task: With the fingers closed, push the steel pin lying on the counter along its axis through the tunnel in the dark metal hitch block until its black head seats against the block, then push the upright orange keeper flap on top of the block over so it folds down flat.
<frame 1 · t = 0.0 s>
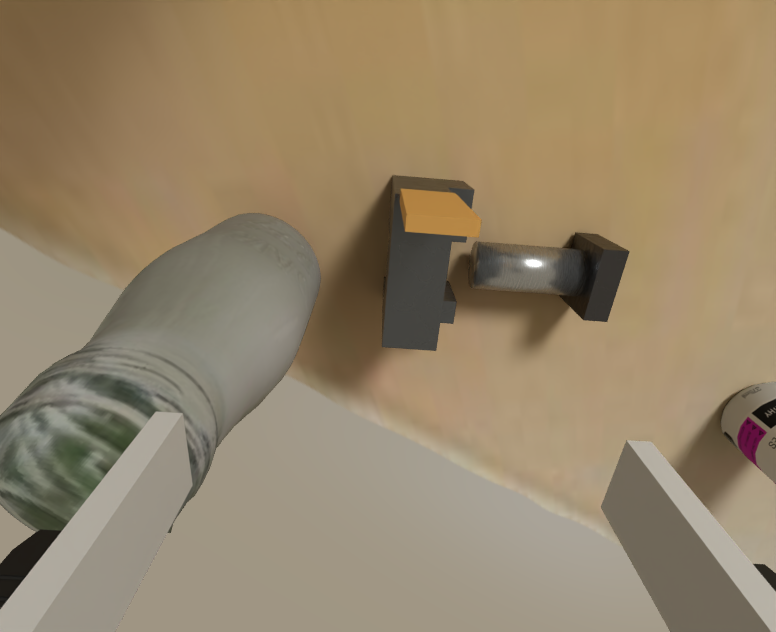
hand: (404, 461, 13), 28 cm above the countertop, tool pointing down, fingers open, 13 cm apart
hitch block: (420, 242, 39), on the countertop
grey vase: (271, 258, 40), on the countertop
supplement can: (754, 409, 47), on the countertop
lynch pin: (538, 271, 37), point 3 cm above the countertop, slide at 0.0 cm
keeper flap: (433, 209, 23), point 15 cm above the countertop, hinge at 90.0°
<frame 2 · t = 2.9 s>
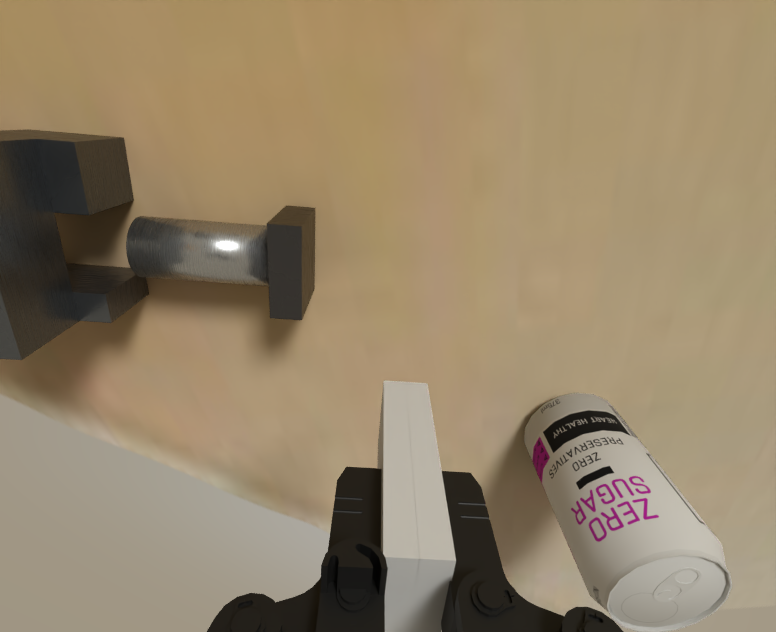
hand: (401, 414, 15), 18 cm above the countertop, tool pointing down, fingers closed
hitch block: (93, 218, 30), on the countertop
supplement can: (567, 425, 39), on the countertop
lynch pin: (224, 255, 29), point 3 cm above the countertop, slide at 0.0 cm
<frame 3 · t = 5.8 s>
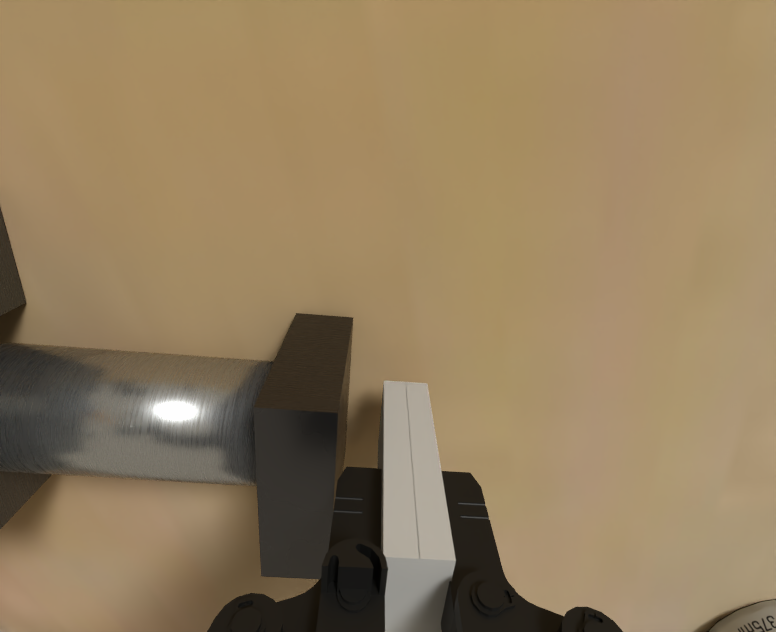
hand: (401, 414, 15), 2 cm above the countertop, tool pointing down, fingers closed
lynch pin: (169, 425, 14), point 3 cm above the countertop, slide at 1.0 cm, touching gripper
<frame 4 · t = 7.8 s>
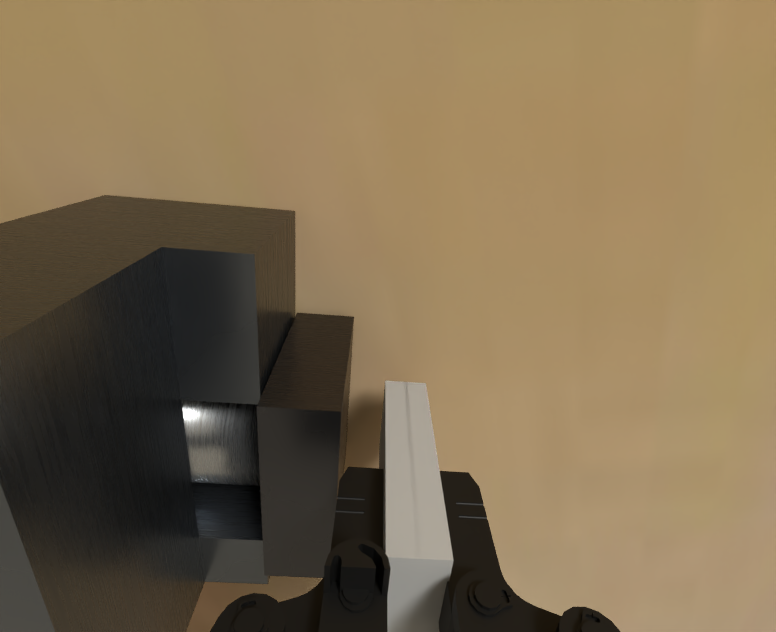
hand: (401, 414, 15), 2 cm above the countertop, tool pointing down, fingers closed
hitch block: (214, 353, 16), on the countertop
lynch pin: (171, 425, 14), point 3 cm above the countertop, slide at 10.4 cm, touching gripper
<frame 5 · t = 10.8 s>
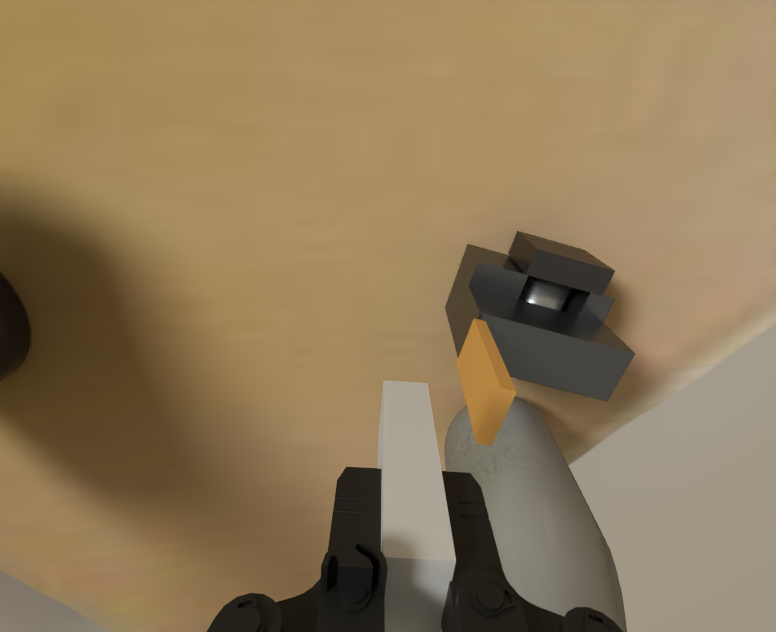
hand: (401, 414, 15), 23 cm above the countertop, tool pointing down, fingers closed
hitch block: (515, 292, 38), on the countertop
grey vase: (488, 417, 44), on the countertop
lynch pin: (534, 312, 36), point 3 cm above the countertop, slide at 10.3 cm
keeper flap: (481, 374, 25), point 15 cm above the countertop, hinge at 90.0°
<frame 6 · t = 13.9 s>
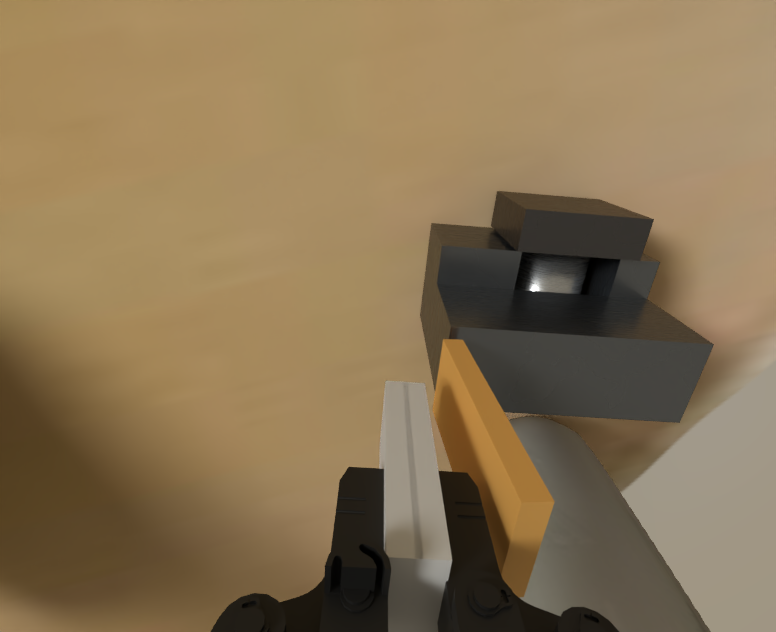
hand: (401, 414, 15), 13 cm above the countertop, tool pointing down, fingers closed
hitch block: (512, 277, 27), on the countertop
grey vase: (510, 445, 33), on the countertop
lynch pin: (543, 301, 25), point 3 cm above the countertop, slide at 10.3 cm
keeper flap: (475, 442, 14), point 15 cm above the countertop, hinge at 84.4°, touching gripper
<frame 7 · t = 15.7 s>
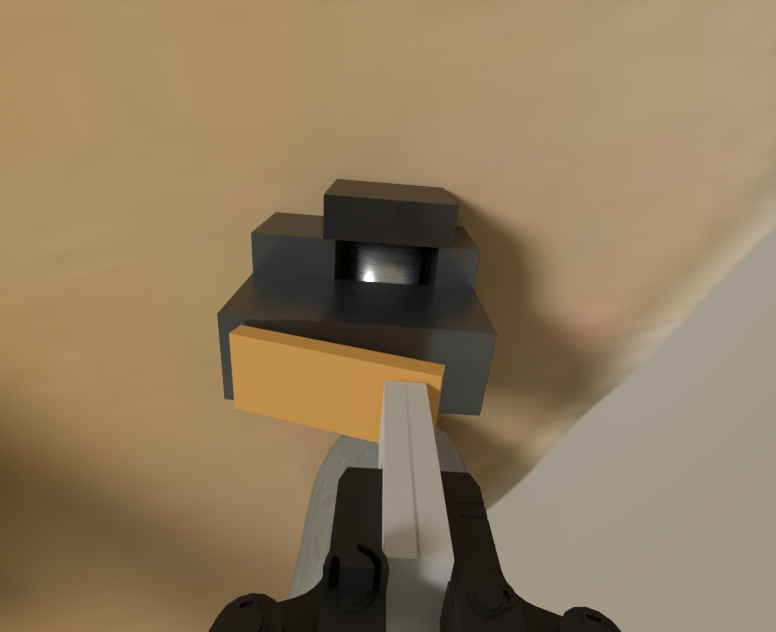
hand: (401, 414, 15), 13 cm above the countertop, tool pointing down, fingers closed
hitch block: (367, 268, 27), on the countertop
grey vase: (391, 441, 32), on the countertop
lynch pin: (382, 292, 24), point 3 cm above the countertop, slide at 10.3 cm
keeper flap: (332, 388, 16), point 12 cm above the countertop, hinge at 14.6°, touching gripper
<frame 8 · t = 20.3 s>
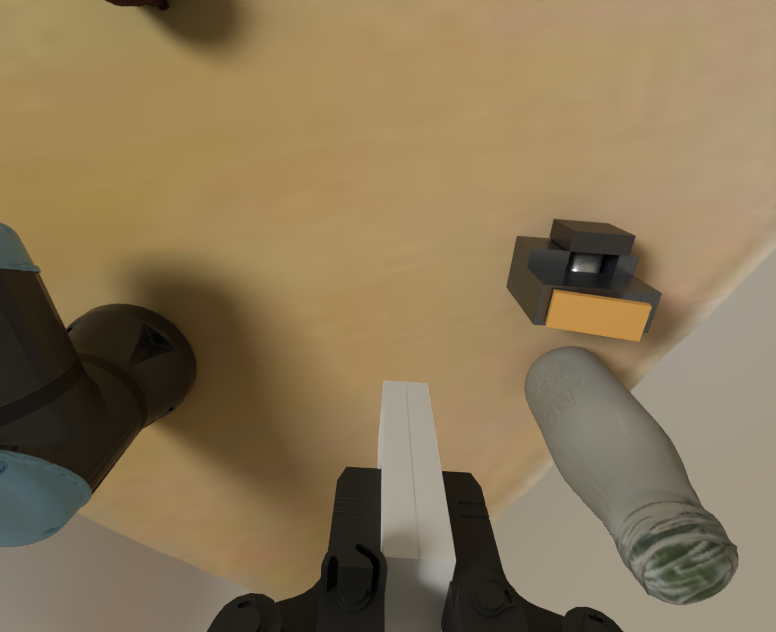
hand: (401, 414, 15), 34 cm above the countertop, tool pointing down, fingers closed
hitch block: (559, 265, 49), on the countertop
grey vase: (553, 368, 55), on the countertop
lynch pin: (578, 278, 46), point 3 cm above the countertop, slide at 10.3 cm
keeper flap: (596, 315, 39), point 12 cm above the countertop, hinge at 13.1°
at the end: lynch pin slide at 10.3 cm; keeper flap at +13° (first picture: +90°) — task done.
